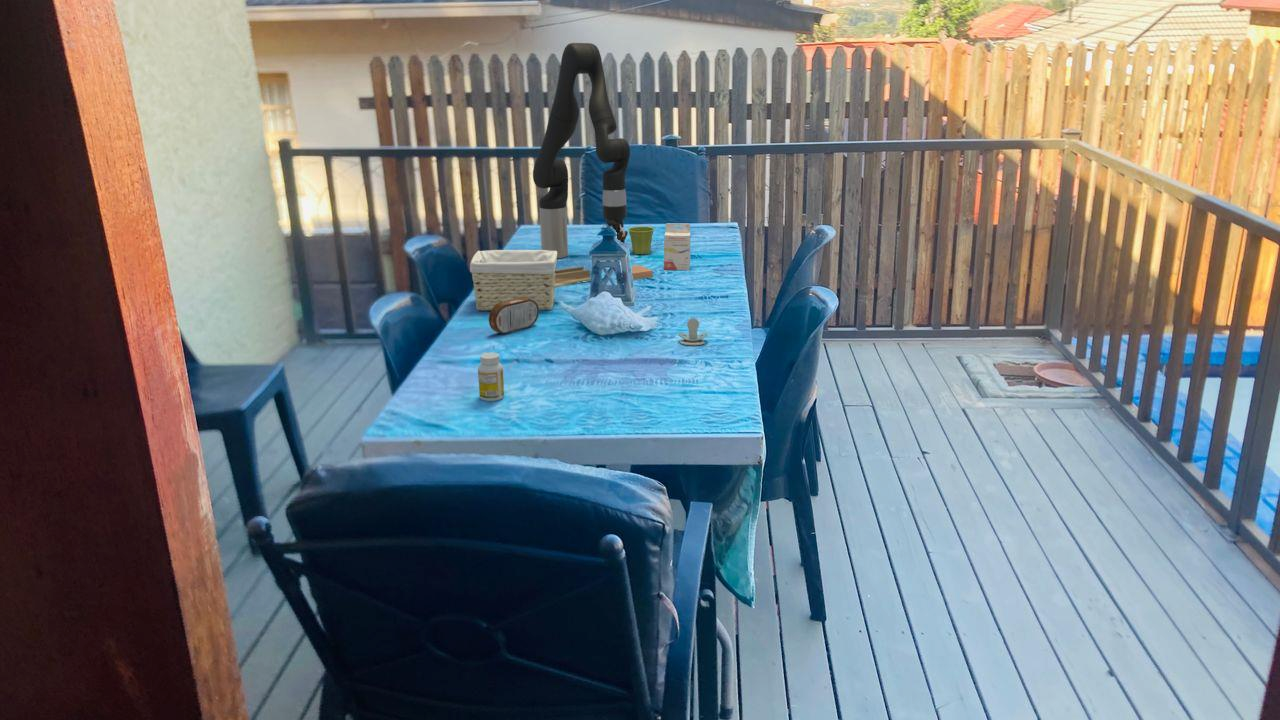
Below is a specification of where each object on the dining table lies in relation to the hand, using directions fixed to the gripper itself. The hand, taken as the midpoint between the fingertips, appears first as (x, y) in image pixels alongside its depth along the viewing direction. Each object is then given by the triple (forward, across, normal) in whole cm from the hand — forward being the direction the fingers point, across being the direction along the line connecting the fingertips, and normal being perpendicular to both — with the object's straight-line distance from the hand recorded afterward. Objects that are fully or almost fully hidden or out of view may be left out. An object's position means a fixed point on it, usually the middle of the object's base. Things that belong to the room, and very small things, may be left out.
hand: (615, 257), depth 309 cm
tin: (+6, -40, +51) cm, 65 cm away
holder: (+6, +1, +19) cm, 19 cm away
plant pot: (+6, +22, -22) cm, 32 cm away
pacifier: (+6, -73, +17) cm, 75 cm away
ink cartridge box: (+6, -4, -21) cm, 22 cm away
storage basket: (+6, -17, +41) cm, 45 cm away
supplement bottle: (+6, -82, +74) cm, 111 cm away
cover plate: (+5, 0, -1) cm, 5 cm away
